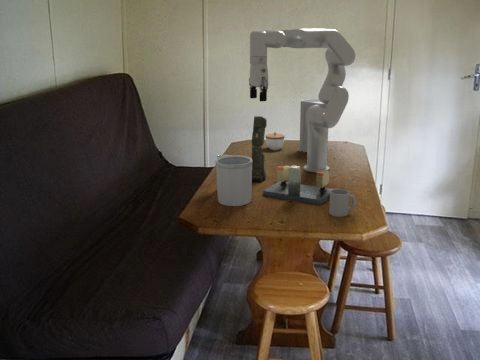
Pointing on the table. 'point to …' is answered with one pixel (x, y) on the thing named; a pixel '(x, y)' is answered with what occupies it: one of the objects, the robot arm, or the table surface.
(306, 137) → the white upright slab
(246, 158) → the utensil holder
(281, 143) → the lidded jar
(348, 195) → the cup
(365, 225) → the table surface
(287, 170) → the knob
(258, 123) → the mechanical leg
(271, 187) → the level plate
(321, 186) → the knob
